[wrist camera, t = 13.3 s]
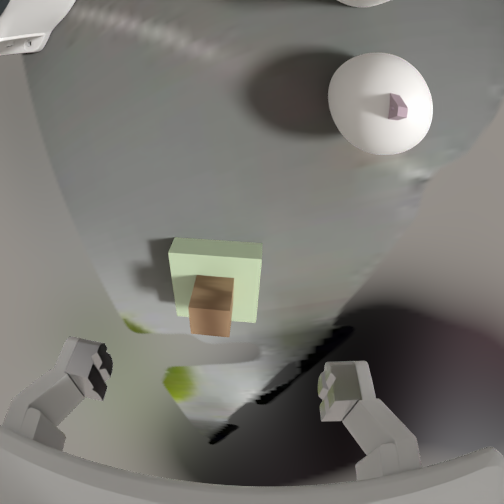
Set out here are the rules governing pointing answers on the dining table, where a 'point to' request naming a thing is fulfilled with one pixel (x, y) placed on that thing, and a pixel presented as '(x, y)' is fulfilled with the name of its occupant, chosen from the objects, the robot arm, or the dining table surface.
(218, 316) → the walnut block
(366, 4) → the cup
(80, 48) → the dining table surface
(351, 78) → the ornament
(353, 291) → the dining table surface
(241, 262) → the base box
